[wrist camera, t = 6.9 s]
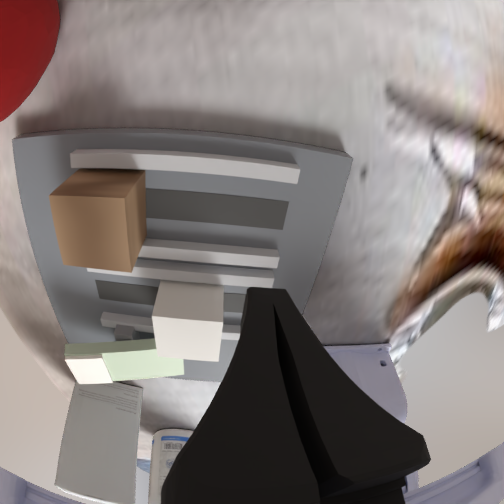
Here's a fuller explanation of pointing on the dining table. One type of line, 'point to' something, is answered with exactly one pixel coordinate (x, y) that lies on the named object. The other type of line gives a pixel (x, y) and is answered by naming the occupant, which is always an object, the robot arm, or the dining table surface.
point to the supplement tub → (164, 458)
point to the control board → (185, 224)
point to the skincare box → (101, 443)
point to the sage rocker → (119, 361)
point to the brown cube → (101, 218)
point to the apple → (25, 48)
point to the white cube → (188, 320)
